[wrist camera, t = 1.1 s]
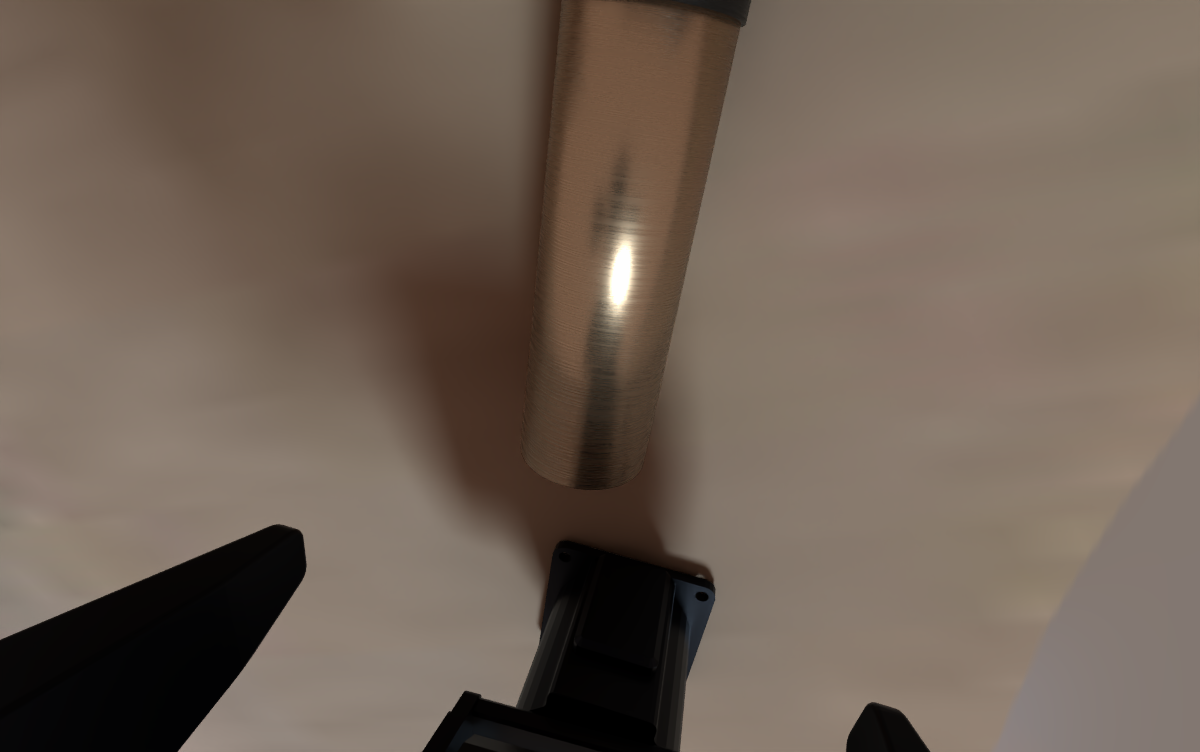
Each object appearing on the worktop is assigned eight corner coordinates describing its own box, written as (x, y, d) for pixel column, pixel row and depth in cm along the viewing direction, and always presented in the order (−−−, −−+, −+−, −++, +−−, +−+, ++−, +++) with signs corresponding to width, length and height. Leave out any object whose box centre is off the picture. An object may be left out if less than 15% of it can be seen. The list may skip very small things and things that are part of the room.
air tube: (673, 471, 18) (557, 508, 15) (601, 405, 21) (495, 427, 18) (850, -224, 10) (677, -352, 8) (698, -171, 13) (540, -252, 11)
